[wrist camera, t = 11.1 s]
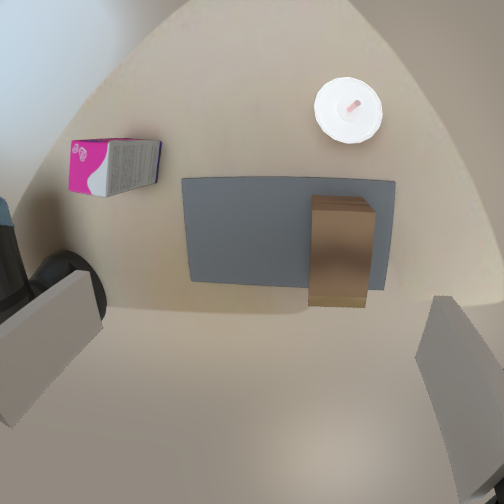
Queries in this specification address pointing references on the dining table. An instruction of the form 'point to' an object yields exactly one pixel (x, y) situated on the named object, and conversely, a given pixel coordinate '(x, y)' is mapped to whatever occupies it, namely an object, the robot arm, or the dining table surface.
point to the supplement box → (112, 165)
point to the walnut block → (340, 251)
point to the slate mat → (271, 227)
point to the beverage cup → (348, 110)
